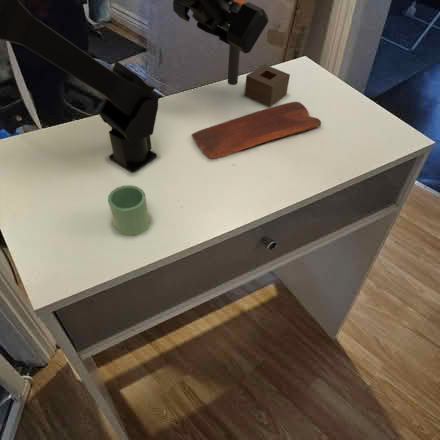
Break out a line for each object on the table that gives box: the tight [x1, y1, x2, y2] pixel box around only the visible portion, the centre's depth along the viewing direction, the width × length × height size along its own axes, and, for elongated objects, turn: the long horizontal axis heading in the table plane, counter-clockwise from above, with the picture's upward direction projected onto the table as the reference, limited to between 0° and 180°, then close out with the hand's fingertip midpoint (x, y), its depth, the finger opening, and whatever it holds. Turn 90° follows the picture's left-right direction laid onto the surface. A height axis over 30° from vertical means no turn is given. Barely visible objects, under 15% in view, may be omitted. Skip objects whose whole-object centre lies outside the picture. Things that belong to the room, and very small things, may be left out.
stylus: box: [227, 0, 245, 86], centre depth 73 cm, size 2×2×14 cm
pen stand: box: [244, 64, 291, 108], centre depth 86 cm, size 7×7×4 cm
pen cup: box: [107, 184, 150, 237], centre depth 62 cm, size 6×6×6 cm
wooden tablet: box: [191, 101, 322, 159], centre depth 79 cm, size 27×10×2 cm, turn 118°
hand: (240, 42), depth 73 cm, fingers closed on stylus, 2 cm apart
